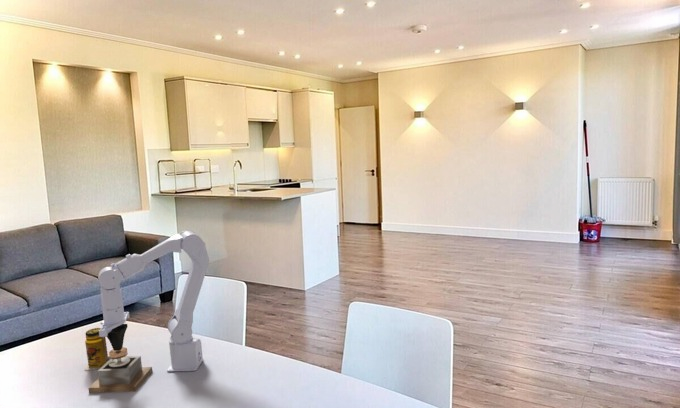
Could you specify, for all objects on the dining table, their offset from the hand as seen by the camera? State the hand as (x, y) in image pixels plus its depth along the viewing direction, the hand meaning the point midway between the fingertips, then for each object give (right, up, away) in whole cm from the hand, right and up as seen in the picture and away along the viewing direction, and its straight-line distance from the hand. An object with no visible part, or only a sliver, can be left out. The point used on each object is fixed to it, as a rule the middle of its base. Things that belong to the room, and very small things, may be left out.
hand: (118, 349), depth 145 cm
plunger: (0, -4, +1) cm, 4 cm away
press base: (+1, -10, +1) cm, 10 cm away
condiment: (-13, -9, +15) cm, 22 cm away
